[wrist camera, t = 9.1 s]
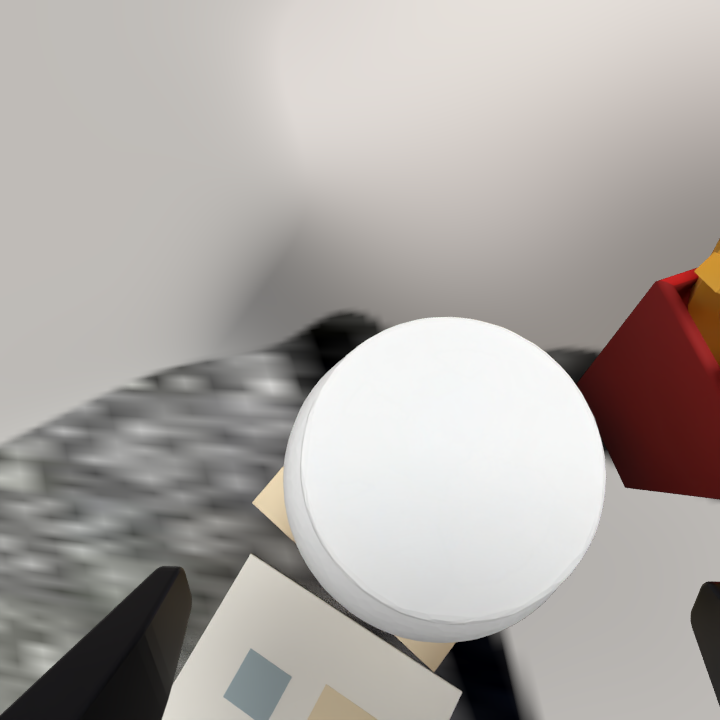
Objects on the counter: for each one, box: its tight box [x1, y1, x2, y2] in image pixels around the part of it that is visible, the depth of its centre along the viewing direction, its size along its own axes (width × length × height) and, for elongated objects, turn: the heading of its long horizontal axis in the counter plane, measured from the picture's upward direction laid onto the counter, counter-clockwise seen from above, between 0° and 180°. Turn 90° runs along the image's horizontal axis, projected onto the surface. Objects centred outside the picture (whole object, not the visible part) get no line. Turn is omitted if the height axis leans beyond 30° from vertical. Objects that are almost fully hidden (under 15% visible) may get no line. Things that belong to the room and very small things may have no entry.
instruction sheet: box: [162, 554, 462, 720], centre depth 20 cm, size 10×8×1 cm
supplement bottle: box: [283, 317, 606, 643], centre depth 14 cm, size 7×7×13 cm
